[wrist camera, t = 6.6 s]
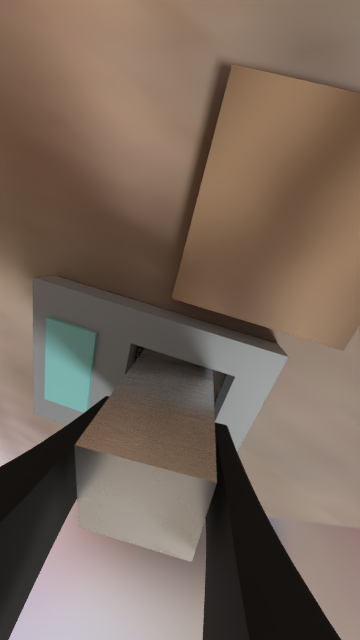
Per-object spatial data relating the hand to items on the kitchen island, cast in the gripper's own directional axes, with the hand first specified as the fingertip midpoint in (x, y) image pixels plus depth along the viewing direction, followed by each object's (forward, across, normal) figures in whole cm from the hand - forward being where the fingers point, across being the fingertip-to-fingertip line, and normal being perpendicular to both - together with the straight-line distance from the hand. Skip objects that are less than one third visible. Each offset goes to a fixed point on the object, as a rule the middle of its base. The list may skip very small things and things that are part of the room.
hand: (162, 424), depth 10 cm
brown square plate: (+3, -4, -10) cm, 11 cm away
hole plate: (+3, +2, 0) cm, 4 cm away
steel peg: (+3, 0, 0) cm, 3 cm away
